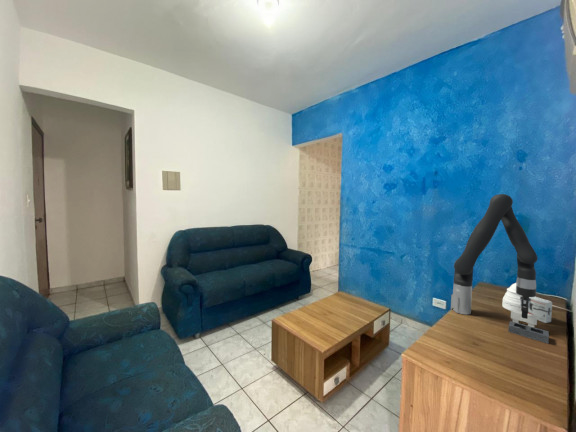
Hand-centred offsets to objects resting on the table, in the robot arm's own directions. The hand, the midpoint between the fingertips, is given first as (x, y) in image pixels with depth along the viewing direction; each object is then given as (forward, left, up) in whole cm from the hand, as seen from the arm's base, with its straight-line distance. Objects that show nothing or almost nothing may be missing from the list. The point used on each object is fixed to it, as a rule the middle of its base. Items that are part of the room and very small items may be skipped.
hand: (524, 315), depth 127 cm
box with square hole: (-6, -9, -6) cm, 12 cm away
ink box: (+16, +8, -6) cm, 19 cm away
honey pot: (+15, +21, -6) cm, 27 cm away
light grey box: (0, 0, -6) cm, 6 cm away
